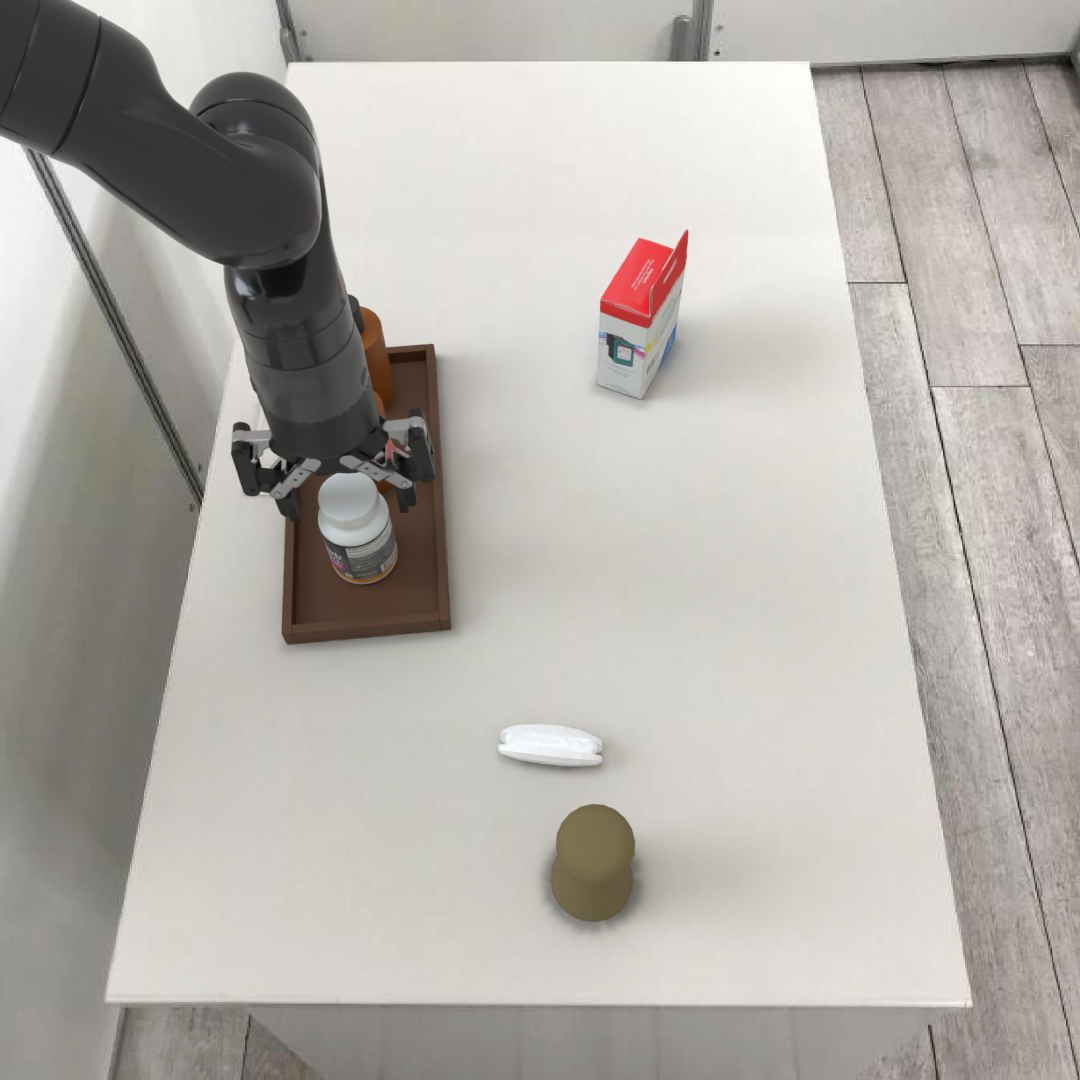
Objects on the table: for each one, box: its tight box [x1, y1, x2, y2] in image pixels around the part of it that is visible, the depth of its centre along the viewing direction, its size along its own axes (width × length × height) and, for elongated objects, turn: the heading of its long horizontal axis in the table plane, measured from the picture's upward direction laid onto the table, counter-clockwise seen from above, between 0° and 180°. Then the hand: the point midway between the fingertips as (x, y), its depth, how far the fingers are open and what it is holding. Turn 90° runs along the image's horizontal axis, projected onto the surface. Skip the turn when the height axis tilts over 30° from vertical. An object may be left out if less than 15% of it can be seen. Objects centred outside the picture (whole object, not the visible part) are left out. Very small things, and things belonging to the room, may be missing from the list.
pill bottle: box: [318, 472, 398, 584], centre depth 87 cm, size 6×6×10 cm
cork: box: [549, 803, 636, 923], centre depth 73 cm, size 6×6×11 cm
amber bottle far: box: [347, 293, 395, 410], centre depth 96 cm, size 6×6×12 cm
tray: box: [280, 343, 452, 645], centre depth 95 cm, size 14×30×2 cm, turn 5°
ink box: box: [596, 228, 689, 400], centre depth 97 cm, size 8×5×15 cm, turn 154°
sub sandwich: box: [497, 723, 604, 768], centre depth 82 cm, size 3×8×3 cm, turn 83°
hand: (350, 508), depth 84 cm, fingers open, 8 cm apart
